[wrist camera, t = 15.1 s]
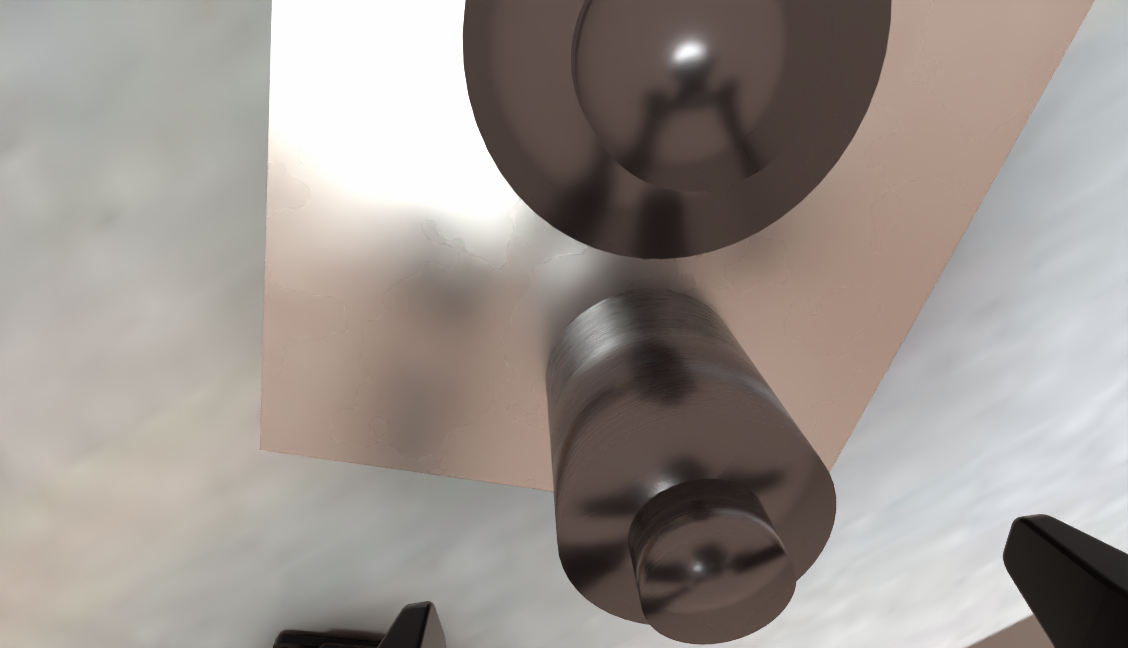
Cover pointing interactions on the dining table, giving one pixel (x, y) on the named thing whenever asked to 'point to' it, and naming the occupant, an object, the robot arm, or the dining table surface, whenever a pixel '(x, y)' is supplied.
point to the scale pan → (575, 270)
